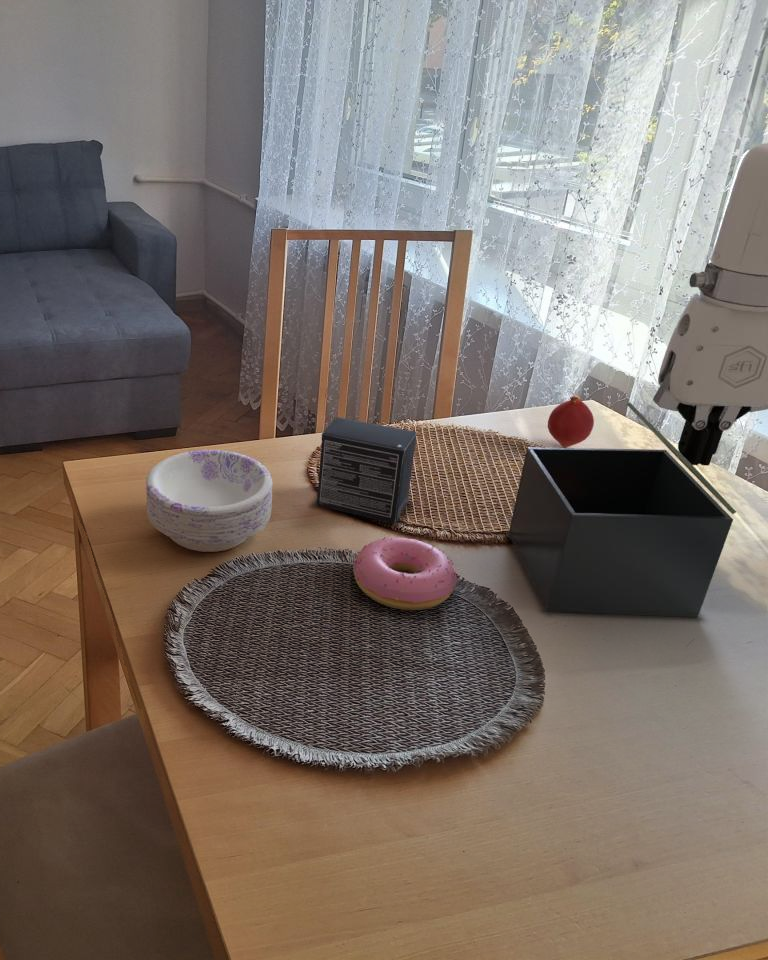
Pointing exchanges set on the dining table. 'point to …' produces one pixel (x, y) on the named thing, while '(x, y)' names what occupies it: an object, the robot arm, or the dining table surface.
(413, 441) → the small box
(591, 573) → the bin
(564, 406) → the onion
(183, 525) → the paper bowls
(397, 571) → the doughnut
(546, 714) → the dining table surface
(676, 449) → the flap
